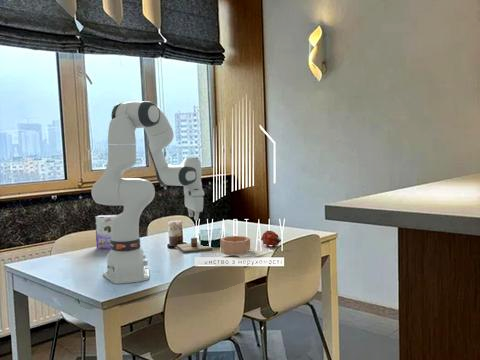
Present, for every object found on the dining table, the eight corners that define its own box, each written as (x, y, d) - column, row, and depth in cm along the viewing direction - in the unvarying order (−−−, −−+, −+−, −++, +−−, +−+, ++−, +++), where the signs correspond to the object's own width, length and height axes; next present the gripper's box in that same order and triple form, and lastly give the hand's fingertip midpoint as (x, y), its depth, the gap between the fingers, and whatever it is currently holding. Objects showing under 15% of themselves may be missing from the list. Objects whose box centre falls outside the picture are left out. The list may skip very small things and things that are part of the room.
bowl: (253, 252, 232) (253, 240, 232) (226, 255, 227) (226, 243, 227) (243, 246, 245) (243, 235, 244) (217, 249, 240) (217, 237, 239)
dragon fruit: (264, 246, 251) (278, 254, 242) (254, 239, 247) (267, 246, 237) (273, 232, 253) (287, 240, 243) (263, 224, 248) (277, 232, 238)
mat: (215, 251, 236) (215, 250, 236) (182, 254, 231) (182, 254, 231) (204, 244, 251) (204, 243, 251) (174, 247, 245) (174, 246, 245)
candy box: (126, 246, 250) (125, 214, 248) (122, 249, 244) (121, 216, 243) (100, 246, 251) (99, 214, 250) (96, 249, 246) (94, 216, 244)
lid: (212, 250, 237) (212, 239, 236) (184, 253, 232) (183, 242, 231) (203, 244, 250) (203, 234, 249) (176, 247, 245) (176, 236, 244)
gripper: (181, 188, 247) (181, 215, 248) (192, 193, 228) (193, 222, 229) (193, 187, 249) (193, 214, 250) (205, 192, 230) (206, 221, 232)
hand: (193, 218), depth 240 cm, fingers open, 8 cm apart
